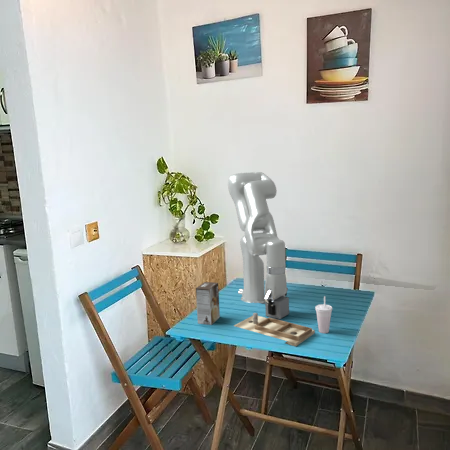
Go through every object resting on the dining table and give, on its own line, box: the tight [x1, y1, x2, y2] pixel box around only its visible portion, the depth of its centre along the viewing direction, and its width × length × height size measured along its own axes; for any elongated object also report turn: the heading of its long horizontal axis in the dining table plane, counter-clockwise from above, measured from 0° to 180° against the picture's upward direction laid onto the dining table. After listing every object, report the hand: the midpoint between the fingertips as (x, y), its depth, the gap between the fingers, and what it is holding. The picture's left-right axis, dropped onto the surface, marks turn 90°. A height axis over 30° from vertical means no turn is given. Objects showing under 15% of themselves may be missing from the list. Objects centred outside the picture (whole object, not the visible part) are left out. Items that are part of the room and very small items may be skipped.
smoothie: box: [314, 295, 333, 334], centre depth 166 cm, size 6×6×14 cm
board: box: [233, 312, 316, 347], centre depth 169 cm, size 28×14×5 cm, turn 51°
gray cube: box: [264, 296, 290, 320], centre depth 182 cm, size 7×7×7 cm
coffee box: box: [195, 281, 221, 326], centre depth 179 cm, size 9×6×16 cm
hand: (276, 311), depth 182 cm, fingers closed on gray cube, 7 cm apart
